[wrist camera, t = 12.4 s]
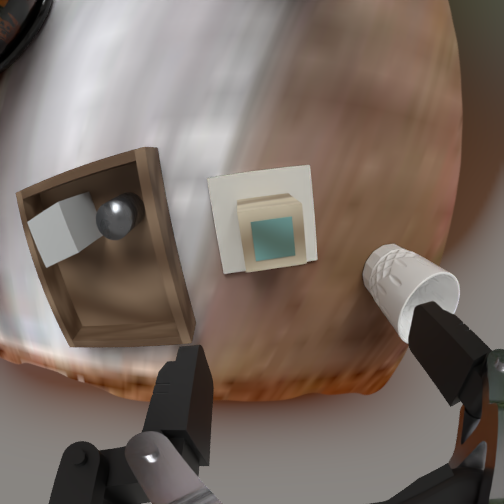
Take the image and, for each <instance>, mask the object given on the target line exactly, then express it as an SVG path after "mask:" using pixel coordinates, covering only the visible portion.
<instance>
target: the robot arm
mask: <svg viewBox="0 0 504 504" xmlns="http://www.w3.org/2000/svg"><path fill="white" fill-rule="evenodd" d="M408 344H409V348H410V350H411V352H412V353H413V355H414V356H415V357H416V359H417V360H418V361H419V363H420V364H421V365H422V367H423V368H424V370H425V371H426V372H427V374H428V375H429V377H430V378H431V379H432V381H433V382H434V383H435V385H436V386H437V388H438V389H439V390H440V392H441V394H442V395H443V396H444V398H445V399H446V401H447V402H448V404H449V405H450V406H453V405H455V404H456V403H458V402H460V401H461V402H462V403H463V405H462V407H461V409H460V417H459V425H458V433H457V439H456V445H455V450H454V453H453V455H452V457H451V459H450V461H449V463H447V464H445V465H444V466H442V467H440V468H438V469H436V470H434V471H432V472H431V473H429V474H427V475H425V476H423V477H421V478H419V479H417V480H416V481H415V482H413V483H412V484H411V485H409V486H408V487H406V488H405V489H404V490H402V491H401V492H399V493H398V494H396V495H395V496H394V497H392V498H390V499H389V500H387V501H384V502H379V503H371V504H504V349H495V350H493V351H492V350H491V349H490V348H489V347H488V346H487V345H486V344H485V343H484V342H483V341H482V340H481V339H480V338H479V337H478V336H477V335H476V334H475V333H474V332H473V331H471V330H469V327H467V326H466V325H465V324H463V322H462V321H461V320H460V319H459V318H458V317H457V316H456V315H454V314H452V313H450V312H448V311H446V310H443V309H442V308H441V307H440V306H439V305H438V304H437V303H436V302H434V301H430V302H427V303H423V304H420V305H417V306H416V307H415V308H414V312H413V317H412V322H411V327H410V332H409V336H408ZM212 404H213V380H212V375H211V372H210V369H209V366H208V363H207V360H206V357H205V354H204V350H203V348H202V346H201V345H194V346H182V347H179V350H178V353H177V357H176V361H169V362H167V363H166V364H165V365H164V366H163V367H162V369H161V370H160V371H159V373H158V376H157V380H156V385H155V387H154V390H153V395H152V397H151V401H150V405H149V408H148V412H147V416H146V419H145V423H144V427H143V430H142V432H141V433H139V434H137V435H135V436H134V437H132V438H131V439H130V440H129V442H128V443H127V445H126V446H125V447H120V448H114V449H107V450H100V451H99V450H98V449H97V448H96V447H95V446H94V445H92V444H91V443H89V442H84V441H81V442H75V443H73V444H71V445H70V446H69V447H67V449H66V450H65V451H64V453H63V456H62V459H61V462H60V465H59V468H58V471H57V475H56V478H55V482H54V485H53V489H52V493H51V497H50V501H49V504H141V503H147V502H151V503H152V504H222V503H221V501H219V499H218V498H217V497H216V496H215V495H214V494H213V493H212V492H211V491H210V490H209V489H208V488H207V487H206V485H205V484H204V483H203V482H202V481H201V480H200V479H199V477H198V474H199V466H209V458H210V439H211V421H212Z"/></svg>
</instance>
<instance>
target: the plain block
mask: <svg viewBox="0 0 504 504" xmlns="http://www.w3.org/2000/svg"><path fill="white" fill-rule="evenodd" d="M96 213H97V212H96V209H95V206H94V204H93V201H92V198H91V196H90V193H89V192H86V193H83V194H80V195H77V196H74V197H71V198H68V199H65V200H62V201H59V202H57V203H55V204H54V205H52V206H51V207H49V208H48V209H46V210H44V211H43V212H41V213H40V214H38V215H37V216H35V217H34V218H32V219H31V220H30V221H28V222H27V223H28V226H29V228H30V231H31V234H32V236H33V239H34V241H35V244H36V246H37V248H38V251H39V253H40V255H41V258H42V260H43V262H44V264H45V266H46V268H47V267H49V266H51V265H53V264H55V263H57V262H60V261H62V260H64V259H66V258H68V257H70V256H72V255H74V254H77V253H79V252H80V251H81V250H83V249H84V248H86V247H87V246H88V245H90V244H91V243H93V242H94V241H96V240H97V239H98V238H100V237H101V236H103V235H102V234H101V233H100V231H99V230H98V227H97V224H96Z"/></svg>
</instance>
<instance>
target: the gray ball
mask: <svg viewBox="0 0 504 504" xmlns="http://www.w3.org/2000/svg"><path fill="white" fill-rule="evenodd" d="M144 214H145V207H144V204H143V201H142V200H141V198H140V197H139V196H137V195H136V194H134V193H130V192H126V193H123V194H121V195H119V196H117V197H115V198H113V199H112V200H110V201H108V202H106V203H104V204H103V205H101V206H100V207H99V209H98V211H97V213H96V224H97V227H98V230H99V231H100V233H101V234H102V235H103V236H104V237H106V238H107V239H110V240H120V239H122V238H123V237H125V236H126V235H127V234H128V233H129V232H130V231H131V230H132V229H133V228H135V227H136V226H137V225H138V224H139V223H140V222H141V221H142V220H143V218H144Z"/></svg>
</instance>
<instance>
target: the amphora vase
mask: <svg viewBox="0 0 504 504" xmlns="http://www.w3.org/2000/svg"><path fill="white" fill-rule="evenodd" d="M51 3H52V0H0V73H1V72H2V71H4V70H5V69H6V68H7V67H9V66H10V65H11V64H12V63H13V62H14V61H15V60H16V59H17V58H18V57H19V56H20V55H21V54H22V53H23V51H24V50H25V49H26V47H27V46H28V45H29V44H30V42H31V41H32V40H33V38H34V37H35V35H36V34H37V32H38V31H39V29H40V28H41V26H42V24H43V22H44V20H45V18H46V16H47V14H48V11H49V9H50V6H51Z"/></svg>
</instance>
